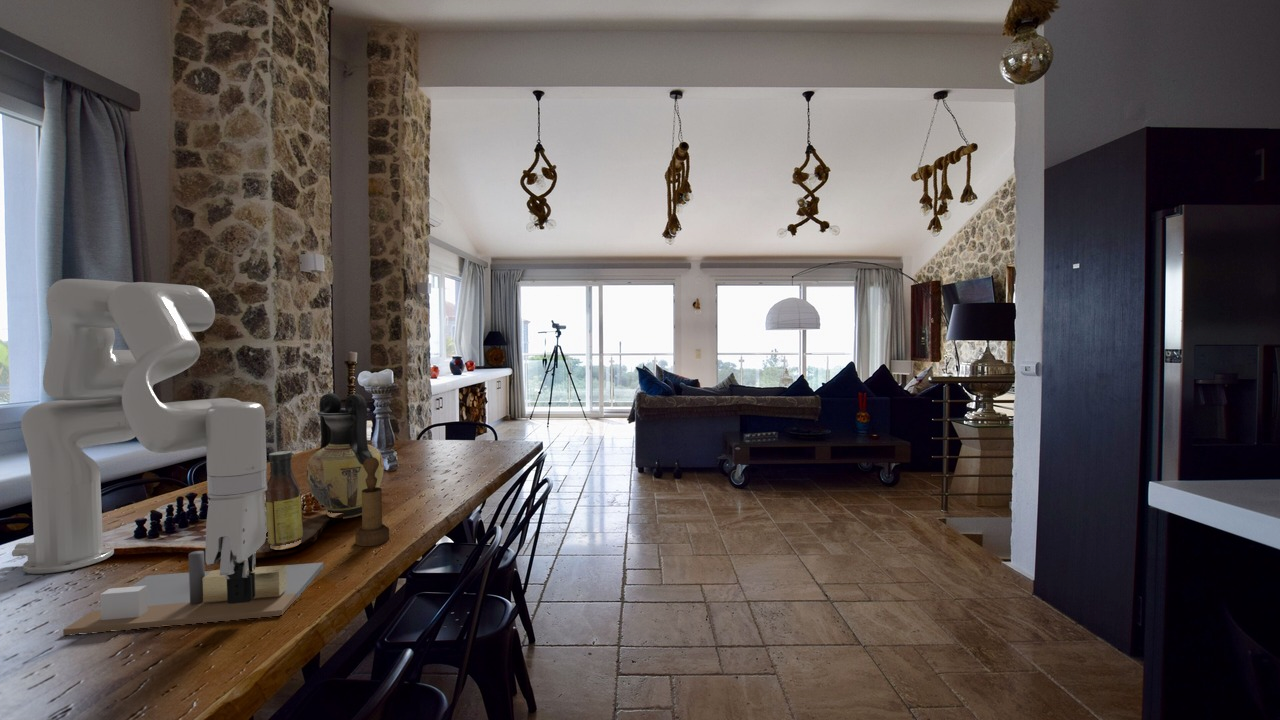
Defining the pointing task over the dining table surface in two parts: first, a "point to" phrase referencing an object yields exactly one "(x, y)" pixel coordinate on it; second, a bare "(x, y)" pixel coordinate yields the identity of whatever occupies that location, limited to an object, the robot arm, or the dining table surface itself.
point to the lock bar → (266, 583)
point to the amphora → (342, 456)
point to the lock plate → (184, 601)
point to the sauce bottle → (283, 502)
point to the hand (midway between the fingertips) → (241, 600)
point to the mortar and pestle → (371, 510)
